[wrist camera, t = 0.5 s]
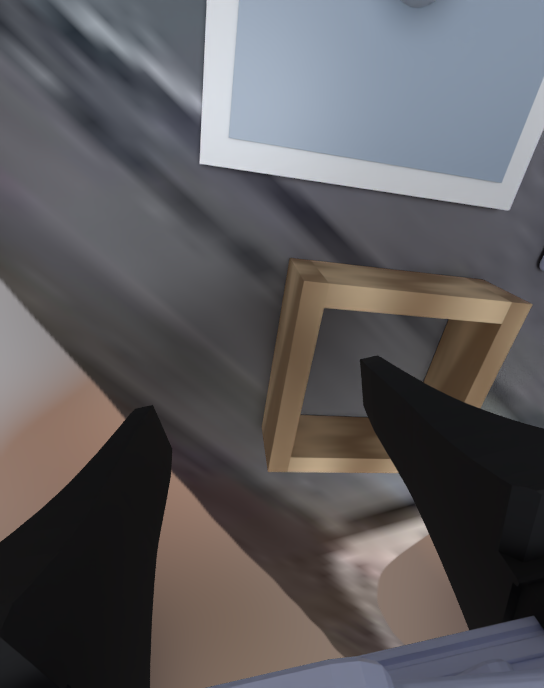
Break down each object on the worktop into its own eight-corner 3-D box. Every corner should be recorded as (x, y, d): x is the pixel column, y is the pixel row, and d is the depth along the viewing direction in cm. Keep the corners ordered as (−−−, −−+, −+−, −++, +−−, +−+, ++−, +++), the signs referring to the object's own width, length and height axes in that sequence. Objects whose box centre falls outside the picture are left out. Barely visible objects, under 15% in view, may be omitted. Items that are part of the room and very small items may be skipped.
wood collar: (483, 279, 22) (532, 304, 18) (418, 432, 27) (447, 473, 24) (289, 257, 20) (304, 281, 16) (261, 427, 25) (267, 471, 22)
